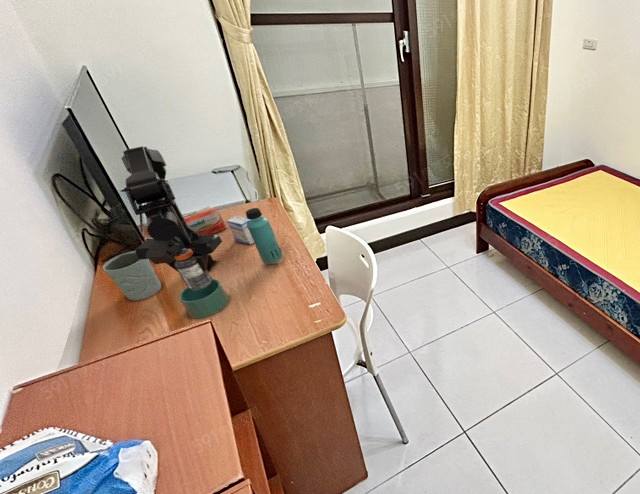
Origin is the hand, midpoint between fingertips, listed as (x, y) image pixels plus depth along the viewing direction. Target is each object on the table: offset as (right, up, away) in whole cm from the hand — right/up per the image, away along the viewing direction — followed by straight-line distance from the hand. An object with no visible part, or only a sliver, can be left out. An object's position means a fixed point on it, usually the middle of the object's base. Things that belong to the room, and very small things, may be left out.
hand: (193, 271), depth 111 cm
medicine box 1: (-28, +10, +41) cm, 51 cm away
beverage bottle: (+9, +1, +24) cm, 25 cm away
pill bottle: (0, -4, +3) cm, 5 cm away
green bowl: (0, -11, +6) cm, 12 cm away
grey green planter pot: (-25, -8, +13) cm, 29 cm away
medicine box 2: (-8, +8, +36) cm, 38 cm away
